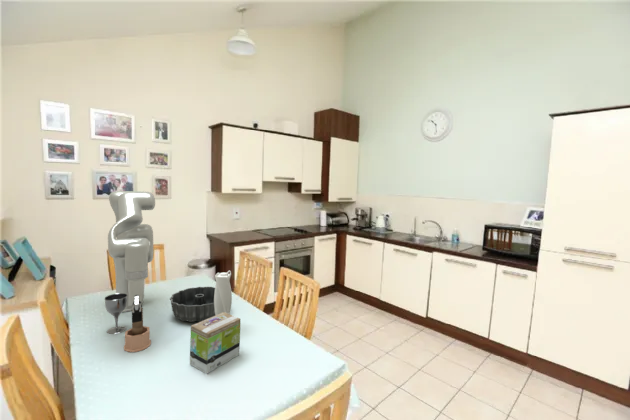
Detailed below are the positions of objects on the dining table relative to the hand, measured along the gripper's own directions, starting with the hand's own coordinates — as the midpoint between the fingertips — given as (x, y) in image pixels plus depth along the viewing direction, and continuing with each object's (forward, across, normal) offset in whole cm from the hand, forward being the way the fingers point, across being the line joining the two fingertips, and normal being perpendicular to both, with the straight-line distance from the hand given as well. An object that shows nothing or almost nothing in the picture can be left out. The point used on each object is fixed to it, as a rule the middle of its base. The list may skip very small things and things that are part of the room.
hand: (137, 316), depth 115 cm
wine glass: (+12, -17, -8) cm, 23 cm away
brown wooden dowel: (+11, +1, 0) cm, 11 cm away
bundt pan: (+13, -18, +26) cm, 34 cm away
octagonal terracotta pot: (+12, +1, 0) cm, 12 cm away
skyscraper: (+12, +5, +32) cm, 35 cm away
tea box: (+12, +24, +25) cm, 36 cm away
